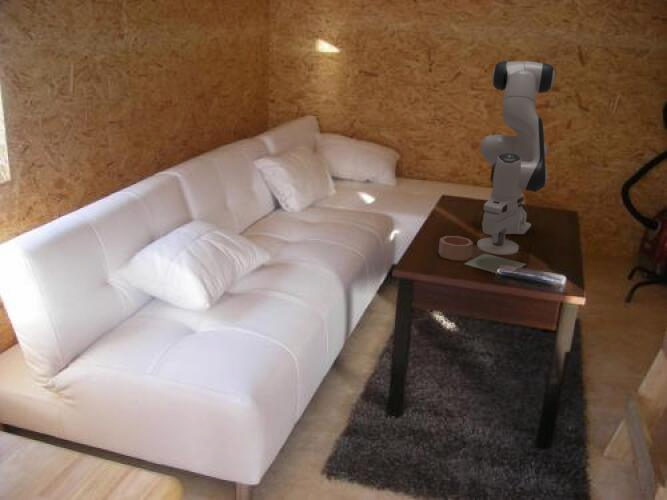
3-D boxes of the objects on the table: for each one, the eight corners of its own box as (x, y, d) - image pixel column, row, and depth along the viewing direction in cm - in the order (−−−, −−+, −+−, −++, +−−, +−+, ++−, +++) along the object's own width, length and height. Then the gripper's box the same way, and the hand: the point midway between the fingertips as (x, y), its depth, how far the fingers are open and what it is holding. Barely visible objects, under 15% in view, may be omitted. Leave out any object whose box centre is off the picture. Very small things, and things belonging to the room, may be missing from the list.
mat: (484, 254, 238) (485, 253, 237) (526, 265, 228) (526, 264, 228) (463, 265, 226) (464, 263, 226) (506, 277, 216) (506, 275, 216)
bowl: (448, 249, 242) (450, 234, 240) (475, 256, 235) (477, 241, 233) (433, 256, 234) (435, 240, 232) (460, 264, 227) (462, 247, 225)
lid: (488, 238, 235) (489, 224, 233) (524, 247, 226) (526, 233, 225) (470, 247, 224) (471, 233, 222) (507, 257, 216) (509, 243, 214)
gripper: (508, 194, 229) (503, 231, 234) (481, 206, 214) (476, 245, 219) (524, 198, 226) (519, 235, 230) (498, 210, 210) (493, 250, 215)
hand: (498, 240), depth 224 cm, fingers closed on lid, 3 cm apart
